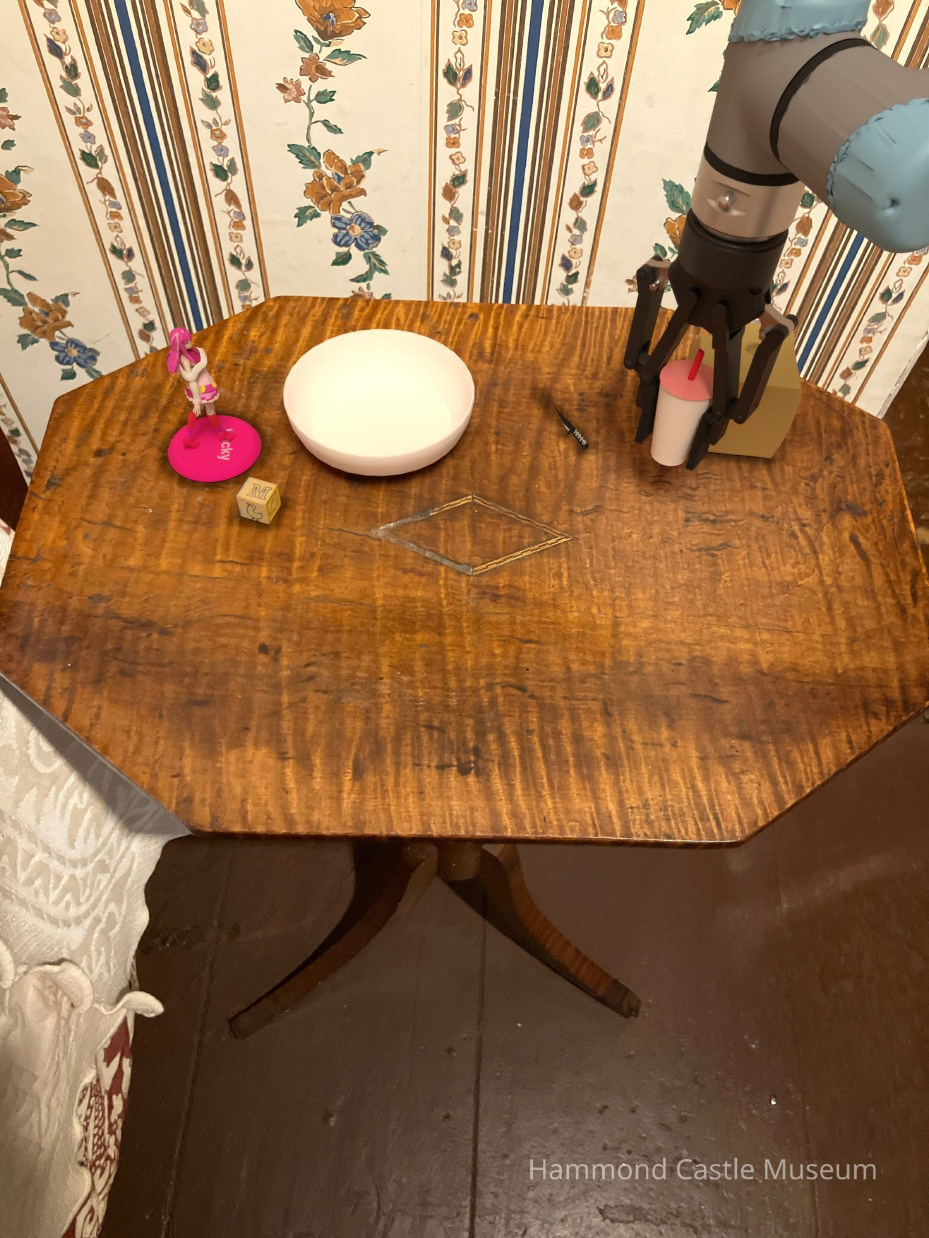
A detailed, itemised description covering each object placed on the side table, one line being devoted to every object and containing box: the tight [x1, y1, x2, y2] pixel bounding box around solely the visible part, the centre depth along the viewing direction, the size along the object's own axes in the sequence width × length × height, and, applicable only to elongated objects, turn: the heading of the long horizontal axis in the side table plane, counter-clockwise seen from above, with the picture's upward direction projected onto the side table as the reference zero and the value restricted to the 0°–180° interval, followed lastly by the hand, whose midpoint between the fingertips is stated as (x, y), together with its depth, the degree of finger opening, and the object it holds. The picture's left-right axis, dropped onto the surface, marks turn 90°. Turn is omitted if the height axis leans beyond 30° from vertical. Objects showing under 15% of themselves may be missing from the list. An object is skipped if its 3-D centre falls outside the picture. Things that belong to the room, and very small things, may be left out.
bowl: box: [282, 328, 476, 477], centre depth 92 cm, size 20×20×6 cm
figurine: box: [165, 326, 262, 483], centre depth 86 cm, size 10×10×15 cm
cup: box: [650, 348, 714, 467], centre depth 79 cm, size 5×5×12 cm
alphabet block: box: [235, 476, 282, 525], centre depth 86 cm, size 3×3×3 cm
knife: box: [554, 407, 590, 451], centre depth 96 cm, size 10×2×1 cm, turn 27°
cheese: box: [686, 322, 802, 459], centre depth 92 cm, size 10×11×10 cm
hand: (669, 448), depth 83 cm, fingers closed on cup, 5 cm apart
